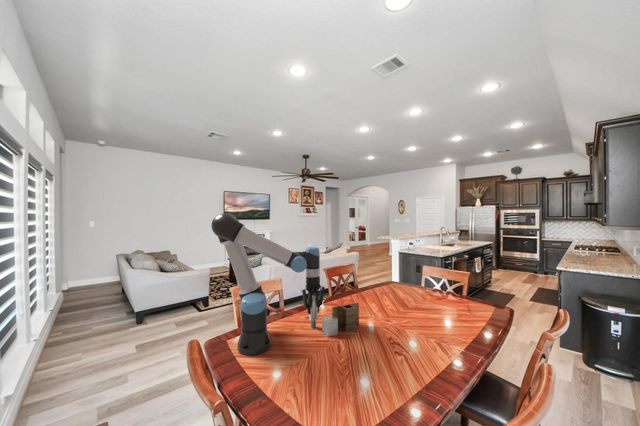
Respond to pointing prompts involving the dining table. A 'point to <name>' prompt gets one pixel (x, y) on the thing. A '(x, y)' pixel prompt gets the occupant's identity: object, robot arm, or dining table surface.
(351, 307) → the brown holed block
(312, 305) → the pin
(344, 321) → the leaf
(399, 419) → the dining table surface
